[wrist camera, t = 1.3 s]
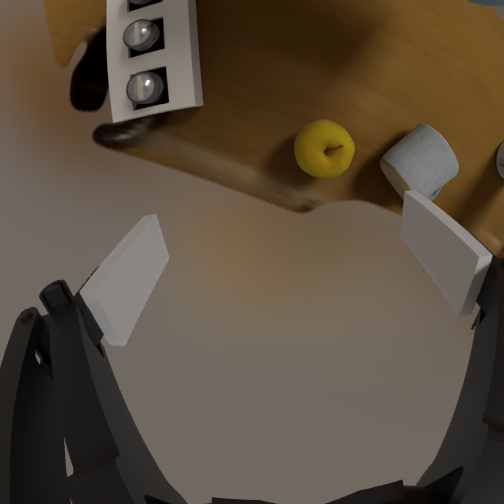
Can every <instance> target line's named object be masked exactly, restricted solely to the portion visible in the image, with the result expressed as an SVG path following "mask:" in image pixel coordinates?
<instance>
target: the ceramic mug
mask: <svg viewBox="0 0 504 504" xmlns="http://www.w3.org/2000/svg"><path fill="white" fill-rule="evenodd" d="M380 167H381V170H382V171H383V173H384V175H385V176H386V178H387V179H388V181H389V182H390V183H391V185H392V186H393V188H394V189H395V190H396V191H397V193H398V194H399V195H400V196H401V197H402V199H403V200H404V191H418V192H419V193H420V194H422V195H423V196H424V197H426V198H427V199H428V200H430V201H431V200H433V199H434V198H435V197H436V196H437V194H438V193H439V191H440V189H441V187H442V186H443V185H444V184H445V183H447V182H448V181H450V180H451V179H452V178H453V177H455V176H456V175H457V174H458V171H459V167H458V162H457V159H456V157H455V155H454V153H453V151H452V149H451V148H450V146H449V144H448V143H447V141H446V140H445V139H444V138H443V137H442V136H441V135H440V134H439V133H438V132H437V131H436V130H435V129H434V128H432V127H431V126H429V125H427V124H424V123H422V124H419V125H417V126H416V127H415V128H414V129H413V130H412V131H410V132H409V133H408V134H407V135H406V136H405V137H403V138H402V139H401V140H400V141H399V142H398V143H397V144H395V145H394V146H393V147H392V148H390V149H389V150H388V151H387V152H386V153H385V154H384V156H383V157H382V158H381V160H380Z"/></svg>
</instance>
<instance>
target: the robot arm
mask: <svg viewBox="0 0 504 504" xmlns="http://www.w3.org/2000/svg"><path fill="white" fill-rule="evenodd" d="M468 1H470V2H473V3H476V4H482V5H487V6H501V5H504V0H468ZM400 238H401V239H402V241H403V242H404V243H405V244H406V245H407V247H408V248H409V249H410V250H411V252H412V253H413V254H414V256H415V257H416V258H417V259H418V261H419V262H420V263H421V265H422V266H423V267H424V269H425V270H426V271H427V273H428V274H429V275H430V277H431V278H432V280H433V281H434V282H435V284H436V285H437V286H438V288H439V290H440V291H441V292H442V294H443V295H444V297H445V298H446V300H447V301H448V303H449V304H450V306H451V307H452V309H453V310H454V312H455V313H456V315H457V317H462V316H465V315H469V314H471V313H472V311H473V309H474V306H475V304H476V302H477V303H478V305H479V306H480V307H481V308H480V310H479V312H478V315H477V317H476V319H475V321H474V323H473V325H472V328H471V329H474V327H475V326H476V328H475V334H474V339H473V345H472V350H471V354H470V359H469V363H468V368H467V372H466V376H465V379H464V383H463V387H462V390H461V393H460V396H459V400H458V403H457V406H456V409H455V411H454V414H453V417H452V420H451V423H450V425H449V428H448V430H447V433H446V435H445V438H444V440H443V442H442V445H441V447H440V449H439V451H438V454H437V456H436V458H435V459H434V461H433V463H432V464H431V465H430V467H429V468H428V469H427V470H426V471H425V473H424V474H423V475H422V477H421V478H420V480H419V482H418V483H417V485H416V486H407V485H406V486H403V480H399V481H396V482H392V483H389V484H385V485H382V486H377V487H373V488H369V489H364V490H360V491H357V492H355V493H353V494H350V495H347V496H345V497H342V498H340V499H337V500H335V501H332V502H329V503H326V504H504V258H501V259H498V258H497V257H496V256H495V255H494V254H493V253H492V252H491V251H490V250H489V249H488V248H487V247H486V246H483V244H482V243H481V242H480V241H478V239H477V238H476V237H475V236H474V235H473V234H471V233H469V232H468V231H466V230H465V229H464V228H463V227H462V226H461V225H459V224H458V223H457V222H456V221H455V220H454V219H452V218H451V217H450V216H449V215H447V214H446V213H445V212H444V211H443V210H441V209H440V208H439V207H437V206H436V205H435V204H434V203H432V202H431V201H430V200H428V199H427V198H426V197H424V196H423V195H422V194H420V193H419V192H418V191H404V204H403V215H402V225H401V233H400ZM168 260H169V255H168V252H167V249H166V245H165V242H164V239H163V235H162V232H161V229H160V225H159V221H158V218H157V214H153V215H146V216H143V218H142V219H141V220H140V221H139V222H138V223H137V224H136V225H135V226H134V227H133V228H132V229H131V230H130V232H129V233H128V234H127V235H126V236H125V237H124V238H123V240H122V241H121V242H120V243H119V244H118V245H117V246H116V248H115V249H114V250H113V251H112V252H111V253H110V254H109V256H108V257H107V258H106V259H105V260H104V262H103V263H102V264H101V265H100V266H99V267H98V268H96V269H95V271H94V272H93V273H92V274H91V277H89V278H88V279H87V280H86V282H85V283H84V284H83V285H82V287H81V288H80V289H79V291H78V292H77V293H76V294H75V296H74V297H73V295H72V293H71V291H70V289H69V287H68V286H67V283H66V282H65V280H57V281H54V282H53V283H51V284H49V285H47V286H46V287H45V288H44V289H43V290H42V291H41V293H40V295H39V298H40V300H41V301H42V303H43V305H44V306H45V308H46V310H47V311H48V313H49V314H48V315H44V316H41V315H40V313H39V312H38V310H37V308H35V307H31V308H29V309H25V310H24V311H23V312H21V314H20V315H19V317H18V318H17V320H16V323H15V325H14V327H13V331H12V333H11V336H10V339H9V341H8V344H7V348H6V351H5V354H4V357H3V360H2V364H1V367H0V504H71V502H70V498H71V501H72V503H73V504H187V502H186V501H185V500H184V499H183V497H182V496H181V495H180V494H179V493H178V492H177V491H176V490H175V489H174V488H173V487H172V486H171V485H170V484H169V483H168V481H167V480H166V479H165V477H164V475H163V474H162V472H161V470H160V469H159V467H158V466H157V464H156V462H155V460H154V459H153V457H152V455H151V453H150V452H149V450H148V448H147V446H146V444H145V442H144V441H143V439H142V437H141V435H140V433H139V431H138V429H137V427H136V425H135V423H134V421H133V419H132V416H131V414H130V412H129V410H128V408H127V406H126V404H125V401H124V399H123V396H122V394H121V392H120V389H119V387H118V385H117V382H116V379H115V377H114V375H113V371H112V369H111V366H110V363H109V361H108V358H107V355H106V352H105V349H104V347H103V345H102V344H101V342H100V341H101V339H102V337H103V335H104V336H105V338H106V339H107V341H108V342H109V344H110V345H116V346H125V345H126V343H127V341H128V338H129V336H130V334H131V332H132V330H133V328H134V326H135V324H136V322H137V319H138V318H139V316H140V314H141V312H142V310H143V308H144V306H145V304H146V302H147V300H148V298H149V296H150V294H151V292H152V290H153V288H154V286H155V284H156V282H157V281H158V279H159V277H160V275H161V273H162V271H163V269H164V267H165V265H166V264H167V262H168ZM35 353H36V354H37V355H38V357H39V358H40V359H41V360H40V364H39V363H38V361H37V359H36V356H35ZM64 438H65V442H66V445H67V449H68V452H69V456H70V459H71V462H72V465H73V470H74V472H73V474H72V475H70V476H68V477H67V473H66V462H65V447H64ZM208 504H275V503H270V502H265V501H261V500H240V499H239V500H238V499H224V498H214V497H212V503H208Z"/></svg>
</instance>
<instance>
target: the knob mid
mask: <svg viewBox="0 0 504 504" xmlns="http://www.w3.org/2000/svg"><path fill="white" fill-rule="evenodd" d="M123 42H124V44H125V45H126V46H127V47H129V48H132V49H135V50H138V51H140V52H143V53H150V52H154V51H157V50H159V49H160V48H161V47H162V46H163V44H164V43H165V42H164V30H163V29H161V28H160V27H158V26H157V25H155V24H154V23H152V22H151V21H149V20H147V19H139V20H136V21H134V22H132V23H131V24H130V25H128V27H127V28H126V29H125V31H124V34H123Z"/></svg>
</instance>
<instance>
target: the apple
mask: <svg viewBox="0 0 504 504" xmlns="http://www.w3.org/2000/svg"><path fill="white" fill-rule="evenodd" d="M354 152H355V147H354V143H353V141H352V138H351V137H350V135H349V134H348V132H347V131H346V130H345V129H344V128H343V127H341V126H339V125H338V124H336V123H334V122H332V121H330V120H327V119H321V120H317V121H313V122H311V123H309V124H307V125H306V126H305V127H303V128H302V129H301V130H300V131H299V132H298V134H297V135H296V137H295V141H294V153H295V157H296V161H297V163H298V165H299V166H300V168H301V169H302V170H304V171H305V172H306V173H308V174H310V175H312V176H314V177H317V178H329V177H333V176H338V175H340V174H342V173H343V172H344V171H345V170H346V169H347V168H348V167H349V165H350V163H351V160H352V158H353V155H354Z"/></svg>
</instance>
